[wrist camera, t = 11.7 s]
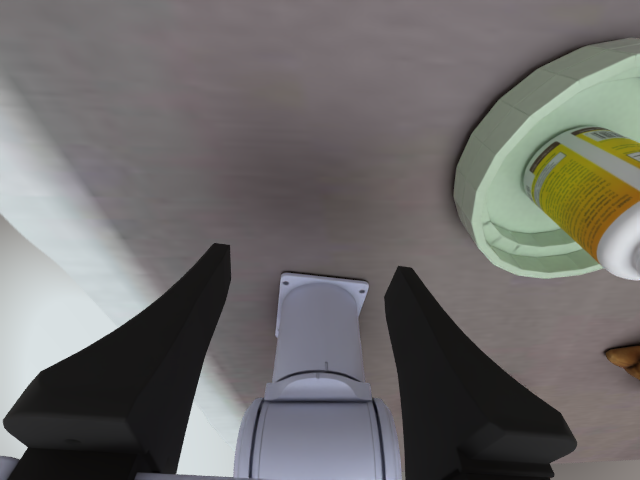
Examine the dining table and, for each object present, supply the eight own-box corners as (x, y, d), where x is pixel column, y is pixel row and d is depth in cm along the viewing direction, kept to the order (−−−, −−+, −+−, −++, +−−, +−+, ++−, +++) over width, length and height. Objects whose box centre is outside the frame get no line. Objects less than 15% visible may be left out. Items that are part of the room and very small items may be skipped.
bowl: (583, 253, 26) (620, 288, 23) (422, 232, 25) (437, 266, 21) (754, 62, 17) (852, 75, 14) (518, 15, 16) (566, 18, 13)
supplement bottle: (526, 213, 23) (639, 330, 15) (512, 151, 20) (643, 254, 12) (613, 178, 21) (798, 289, 13) (612, 104, 18) (849, 187, 10)
